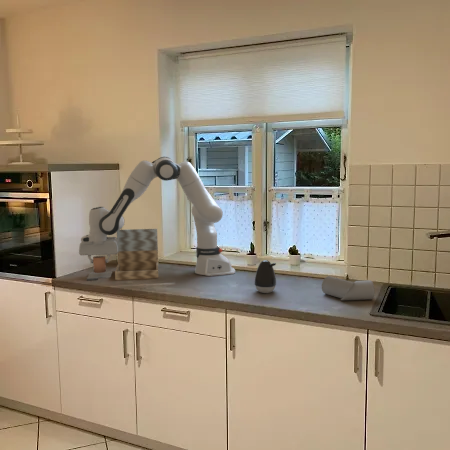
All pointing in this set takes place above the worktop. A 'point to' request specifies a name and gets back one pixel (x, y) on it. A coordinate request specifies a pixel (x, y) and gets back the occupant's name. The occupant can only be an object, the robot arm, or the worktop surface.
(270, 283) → the pump dispenser
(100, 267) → the terracotta pot
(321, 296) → the worktop surface
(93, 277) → the slate tile
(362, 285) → the bent grey cylinder
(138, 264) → the brown patterned open box
